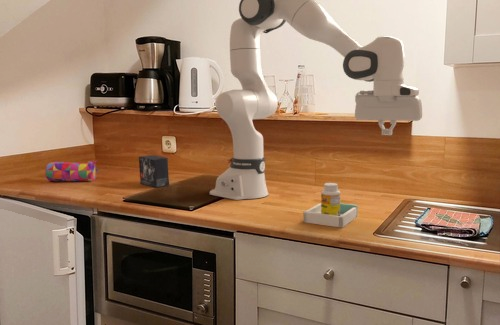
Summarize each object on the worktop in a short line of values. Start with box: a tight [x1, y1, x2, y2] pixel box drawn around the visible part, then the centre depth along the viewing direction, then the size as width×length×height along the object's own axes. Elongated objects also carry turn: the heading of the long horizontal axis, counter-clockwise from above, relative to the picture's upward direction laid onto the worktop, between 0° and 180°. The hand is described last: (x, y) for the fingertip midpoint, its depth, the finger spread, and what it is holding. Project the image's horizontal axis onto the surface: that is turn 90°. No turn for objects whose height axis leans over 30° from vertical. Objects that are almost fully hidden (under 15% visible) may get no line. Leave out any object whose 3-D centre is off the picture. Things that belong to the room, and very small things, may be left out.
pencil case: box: [44, 160, 99, 182], centre depth 207 cm, size 22×9×9 cm, turn 91°
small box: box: [138, 154, 170, 189], centre depth 194 cm, size 13×7×12 cm, turn 42°
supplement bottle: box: [320, 182, 341, 216], centre depth 137 cm, size 6×6×10 cm
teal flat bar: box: [340, 202, 358, 216], centre depth 145 cm, size 11×1×3 cm, turn 58°
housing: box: [302, 203, 358, 229], centre depth 138 cm, size 12×12×3 cm
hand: (386, 134), depth 145 cm, fingers closed
